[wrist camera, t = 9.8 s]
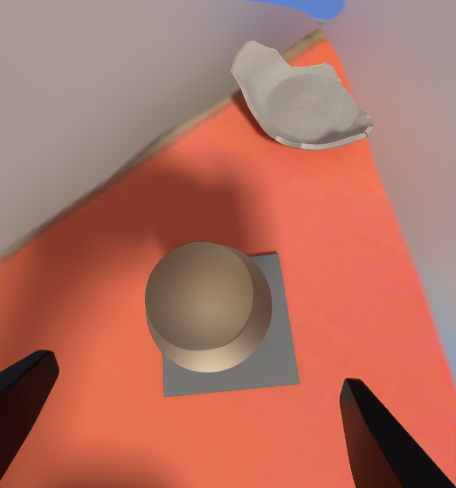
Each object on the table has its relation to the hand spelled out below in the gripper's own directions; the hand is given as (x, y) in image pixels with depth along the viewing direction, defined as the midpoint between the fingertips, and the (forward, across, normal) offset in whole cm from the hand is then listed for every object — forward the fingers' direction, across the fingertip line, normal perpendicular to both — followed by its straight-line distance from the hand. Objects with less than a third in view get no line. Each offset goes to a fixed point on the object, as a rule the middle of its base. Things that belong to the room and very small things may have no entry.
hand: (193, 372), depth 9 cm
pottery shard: (+23, -5, -6) cm, 24 cm away
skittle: (+10, 0, +6) cm, 12 cm away
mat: (+10, 0, +6) cm, 12 cm away
